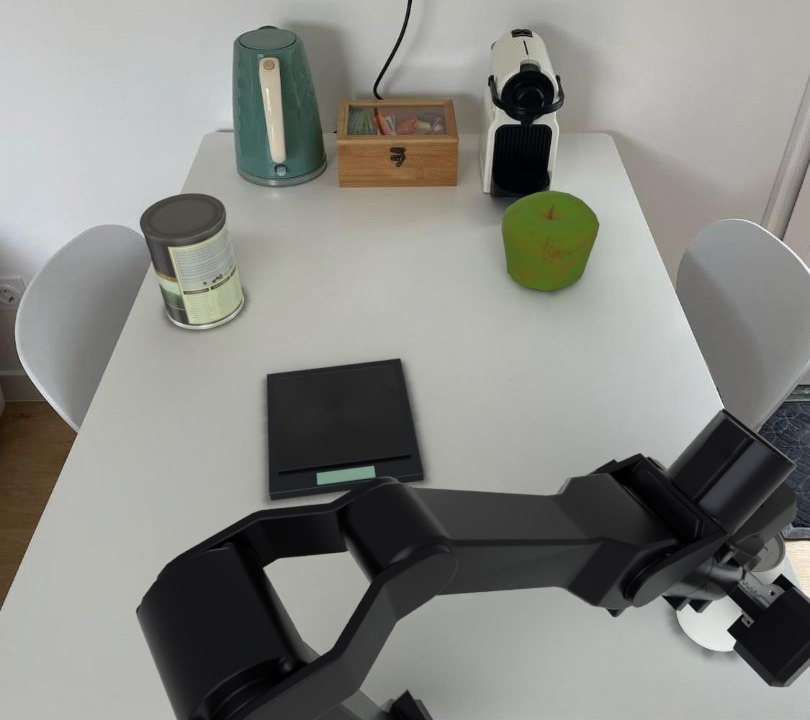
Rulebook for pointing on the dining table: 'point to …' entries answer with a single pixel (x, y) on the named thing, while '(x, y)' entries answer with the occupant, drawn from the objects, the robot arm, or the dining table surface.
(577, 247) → the apple
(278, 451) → the scale
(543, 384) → the dining table surface
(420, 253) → the dining table surface
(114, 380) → the dining table surface
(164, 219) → the coffee can
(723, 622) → the can
